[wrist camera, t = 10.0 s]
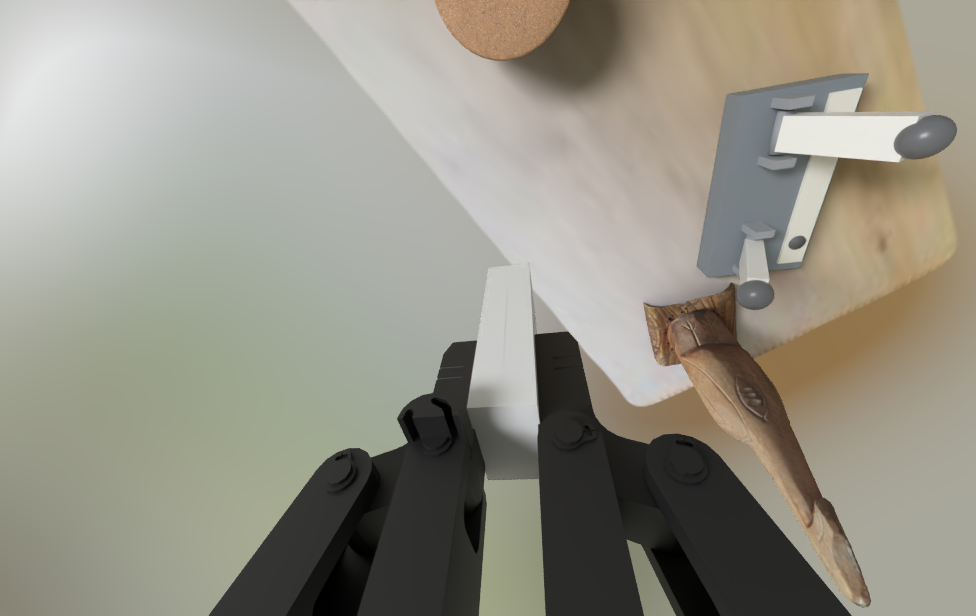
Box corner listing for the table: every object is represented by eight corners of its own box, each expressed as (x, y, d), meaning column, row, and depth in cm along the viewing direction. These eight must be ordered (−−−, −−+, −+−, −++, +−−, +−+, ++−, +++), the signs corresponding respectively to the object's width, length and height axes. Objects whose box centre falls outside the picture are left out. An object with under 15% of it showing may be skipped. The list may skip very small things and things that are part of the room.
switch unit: (696, 266, 44) (717, 288, 40) (726, 94, 34) (759, 97, 30) (783, 256, 43) (816, 278, 38) (842, 73, 33) (895, 73, 28)
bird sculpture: (728, 274, 45) (1027, 548, 18) (736, 341, 50) (977, 631, 23) (639, 301, 48) (780, 566, 21) (655, 361, 54) (785, 635, 27)
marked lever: (758, 155, 33) (925, 171, 24) (768, 113, 31) (954, 112, 22) (779, 149, 34) (950, 162, 25) (790, 107, 32) (980, 104, 23)
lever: (732, 261, 41) (732, 316, 33) (738, 232, 39) (741, 283, 31) (761, 263, 39) (769, 321, 31) (770, 233, 37) (781, 287, 29)
